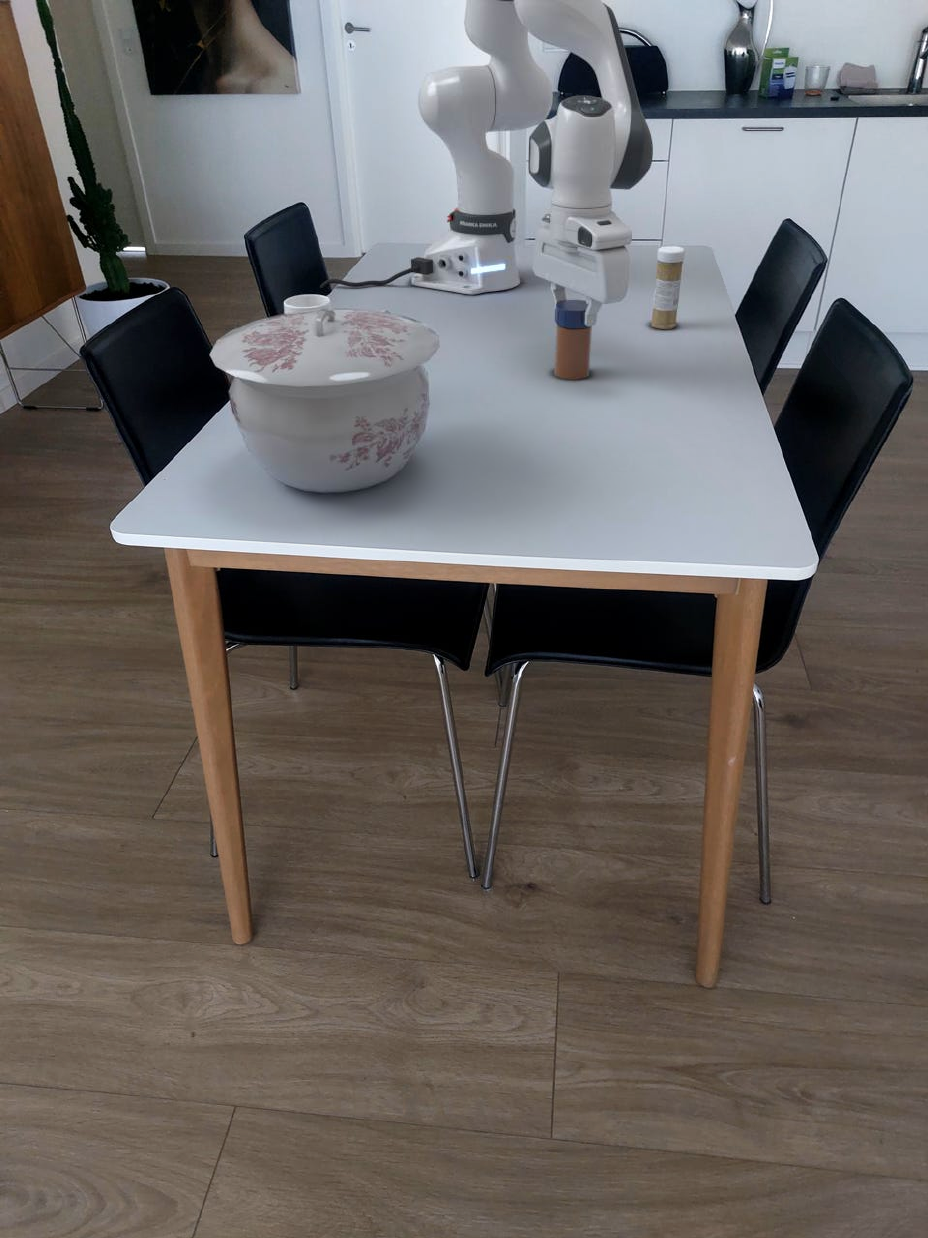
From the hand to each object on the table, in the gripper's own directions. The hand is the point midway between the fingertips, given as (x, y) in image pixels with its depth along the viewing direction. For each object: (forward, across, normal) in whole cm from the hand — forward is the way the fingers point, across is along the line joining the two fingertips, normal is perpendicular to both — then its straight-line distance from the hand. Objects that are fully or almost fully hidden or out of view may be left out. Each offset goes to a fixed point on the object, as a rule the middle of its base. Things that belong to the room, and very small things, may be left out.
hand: (574, 318), depth 147 cm
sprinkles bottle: (+9, -12, +28) cm, 32 cm away
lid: (-2, 0, 0) cm, 2 cm away
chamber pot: (+9, +14, -46) cm, 49 cm away
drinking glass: (+9, -10, -40) cm, 42 cm away
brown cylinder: (+9, 0, 0) cm, 9 cm away
